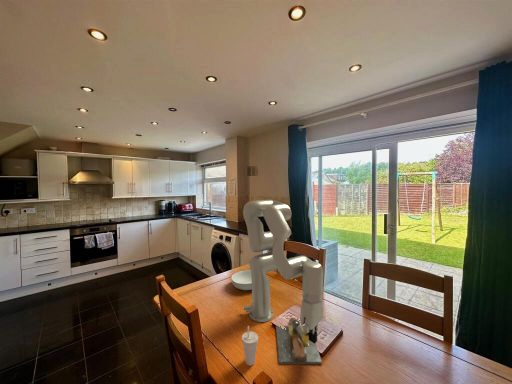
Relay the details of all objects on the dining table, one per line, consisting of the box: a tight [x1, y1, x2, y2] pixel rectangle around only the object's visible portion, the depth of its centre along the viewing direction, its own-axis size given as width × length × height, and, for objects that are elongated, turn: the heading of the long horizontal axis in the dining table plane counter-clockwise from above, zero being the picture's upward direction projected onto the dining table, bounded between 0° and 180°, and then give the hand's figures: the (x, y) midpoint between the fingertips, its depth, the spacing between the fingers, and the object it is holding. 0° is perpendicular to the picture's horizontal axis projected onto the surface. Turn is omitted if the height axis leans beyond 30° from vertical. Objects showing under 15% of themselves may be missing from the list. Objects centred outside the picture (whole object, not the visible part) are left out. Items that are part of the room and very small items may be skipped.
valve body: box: [275, 317, 323, 365], centre depth 89 cm, size 16×20×6 cm
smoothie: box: [241, 325, 259, 366], centre depth 80 cm, size 6×6×14 cm
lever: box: [292, 319, 309, 347], centre depth 84 cm, size 12×3×5 cm, turn 11°
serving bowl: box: [230, 269, 252, 291], centre depth 140 cm, size 21×21×7 cm
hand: (312, 340), depth 81 cm, fingers closed
